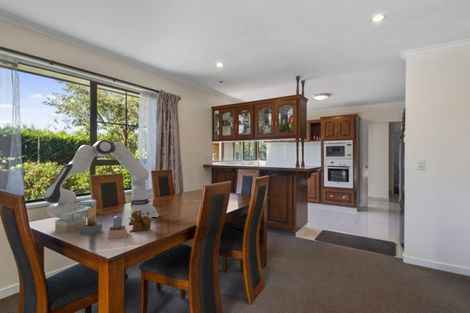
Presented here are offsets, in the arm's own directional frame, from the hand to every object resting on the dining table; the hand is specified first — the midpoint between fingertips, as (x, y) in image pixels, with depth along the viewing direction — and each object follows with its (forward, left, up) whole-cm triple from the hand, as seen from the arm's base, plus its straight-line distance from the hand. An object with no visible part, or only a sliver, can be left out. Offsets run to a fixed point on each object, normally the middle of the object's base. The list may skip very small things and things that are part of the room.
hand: (88, 214), depth 149 cm
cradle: (-2, +2, -11) cm, 12 cm away
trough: (+10, -13, -11) cm, 20 cm away
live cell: (-2, +2, -6) cm, 7 cm away
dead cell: (-16, +14, -11) cm, 24 cm away
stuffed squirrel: (-30, +7, -12) cm, 33 cm away
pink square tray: (-16, +14, -11) cm, 24 cm away
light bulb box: (+4, -54, -12) cm, 55 cm away
